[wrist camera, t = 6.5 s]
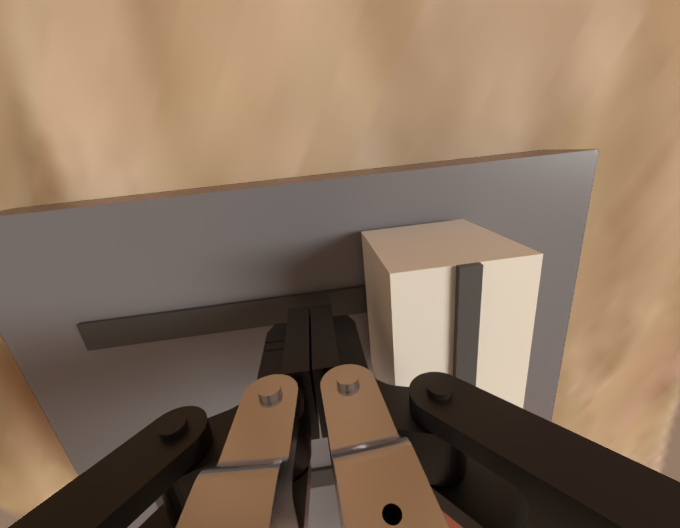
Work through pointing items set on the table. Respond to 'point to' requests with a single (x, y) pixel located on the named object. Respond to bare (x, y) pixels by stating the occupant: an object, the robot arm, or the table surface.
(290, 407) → the robot arm
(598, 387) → the table surface
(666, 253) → the table surface
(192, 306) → the console
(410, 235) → the block
